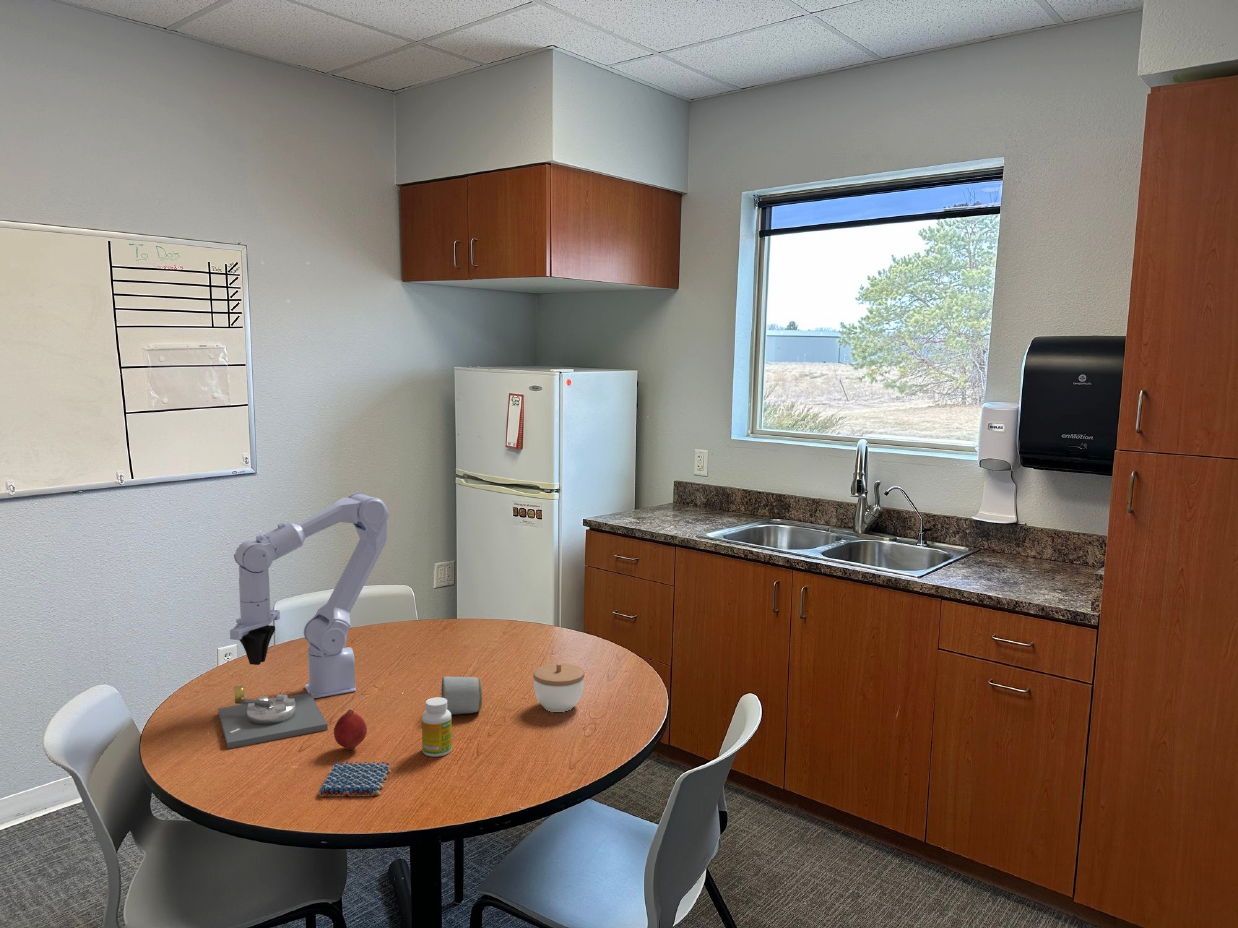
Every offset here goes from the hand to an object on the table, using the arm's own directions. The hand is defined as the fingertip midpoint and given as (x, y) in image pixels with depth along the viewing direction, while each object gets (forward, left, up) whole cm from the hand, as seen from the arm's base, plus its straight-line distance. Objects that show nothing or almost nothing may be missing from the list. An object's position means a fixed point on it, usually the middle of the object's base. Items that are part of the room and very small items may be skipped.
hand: (257, 662), depth 181 cm
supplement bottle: (-26, +37, -10) cm, 47 cm away
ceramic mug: (-36, +21, -10) cm, 43 cm away
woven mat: (-10, +42, -10) cm, 45 cm away
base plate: (-1, +9, -9) cm, 13 cm away
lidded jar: (-55, +29, -10) cm, 63 cm away
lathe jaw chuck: (0, +8, -8) cm, 12 cm away
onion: (-12, +29, -10) cm, 33 cm away
